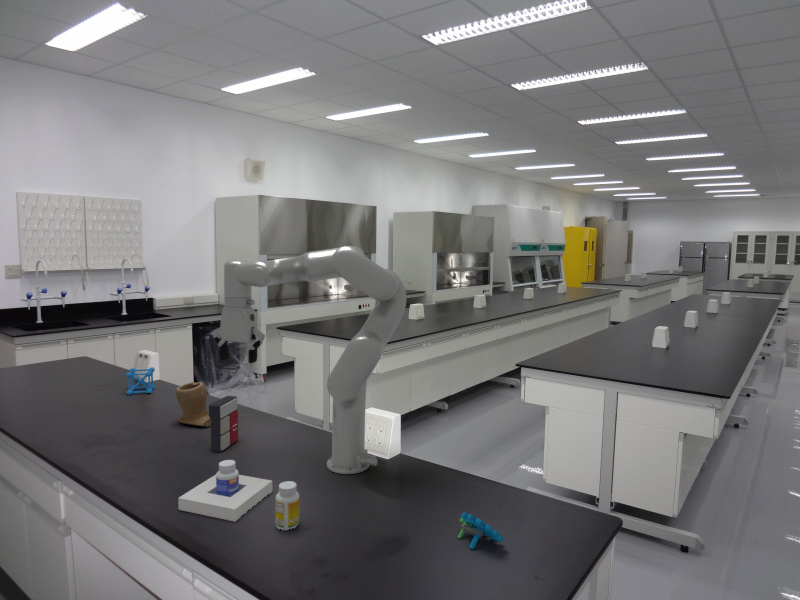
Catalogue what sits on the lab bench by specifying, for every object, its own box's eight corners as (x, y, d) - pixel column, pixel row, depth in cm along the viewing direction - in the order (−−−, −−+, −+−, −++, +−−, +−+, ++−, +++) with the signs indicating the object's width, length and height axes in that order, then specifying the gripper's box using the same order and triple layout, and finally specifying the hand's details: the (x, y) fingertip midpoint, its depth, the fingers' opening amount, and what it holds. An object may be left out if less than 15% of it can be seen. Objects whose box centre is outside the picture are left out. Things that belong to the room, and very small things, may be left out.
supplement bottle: (273, 531, 115) (273, 490, 115) (277, 519, 121) (277, 479, 120) (298, 530, 116) (298, 489, 115) (300, 518, 121) (300, 479, 120)
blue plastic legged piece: (513, 542, 110) (487, 518, 107) (500, 568, 108) (473, 544, 104) (477, 525, 120) (452, 503, 116) (465, 549, 117) (439, 527, 113)
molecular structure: (130, 389, 227) (130, 367, 226) (155, 388, 230) (155, 366, 229) (126, 396, 217) (125, 372, 216) (151, 394, 220) (151, 371, 219)
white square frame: (272, 491, 134) (272, 480, 134) (235, 521, 119) (234, 509, 119) (220, 482, 139) (220, 471, 139) (178, 509, 124) (178, 497, 124)
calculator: (221, 453, 159) (221, 406, 157) (209, 451, 160) (208, 404, 158) (239, 440, 170) (239, 396, 168) (227, 439, 170) (227, 395, 169)
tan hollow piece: (168, 425, 182) (168, 384, 181) (195, 416, 193) (194, 377, 192) (200, 432, 176) (199, 390, 175) (225, 422, 187) (225, 382, 185)
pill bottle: (231, 506, 126) (231, 468, 125) (212, 503, 127) (211, 466, 126) (242, 496, 131) (242, 459, 131) (223, 493, 133) (223, 457, 132)
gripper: (271, 303, 150) (271, 361, 152) (221, 300, 155) (221, 356, 157) (256, 305, 143) (256, 366, 145) (204, 302, 148) (205, 361, 150)
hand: (238, 360), depth 151 cm, fingers open, 9 cm apart
